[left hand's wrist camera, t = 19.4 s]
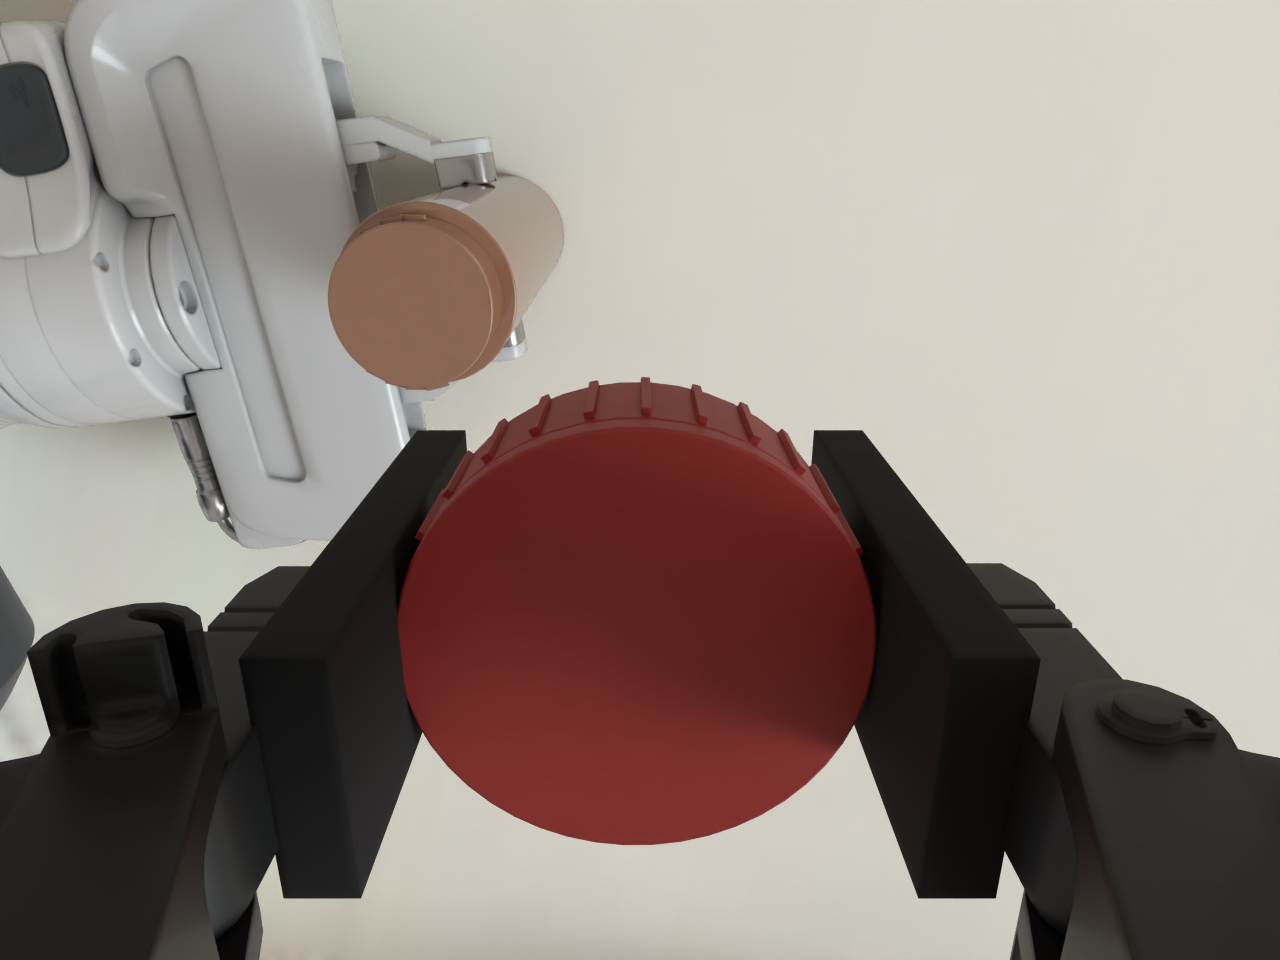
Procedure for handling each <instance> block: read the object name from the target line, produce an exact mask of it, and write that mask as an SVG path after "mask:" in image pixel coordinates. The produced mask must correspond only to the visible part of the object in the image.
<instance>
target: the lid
mask: <svg viewBox="0 0 1280 960" xmlns="http://www.w3.org/2000/svg"><path fill="white" fill-rule="evenodd" d="M415 538H416V539H418V540H420V541H421V542H420V544H419V546H418V548H417V550H416V552H415V554H414V556H413V558H412V560H411V561H410V564H409V567H408V570H407V573H406V576H405V579H404V582H403V584H402V587H401V592H400V597H399V603H398V608H397V619H398V629H399V638H400V647H401V656H402V665H403V674H404V683H405V690H406V698H407V701H408V703H409V706H410V708H411V710H412V713H413V715H414V717H415V719H416V722H417V724H418V725H419V727H420V729H421V730H422V732H423V733H424V735H425V737H426V738H427V740H428V742H429V743H430V745H431V746H432V748H433V749H434V750H435V751H436V752H437V754H438V755H439V756H440V757H441V759H442V760H443V761H444V762H445V764H446V765H447V766H448V767H449V768H450V769H451V770H452V771H453V772H454V773H455V774H456V775H457V776H458V777H459V778H460V779H461V780H462V781H463V782H465V783H466V784H467V785H468V786H469V787H470V788H472V789H473V790H474V791H476V792H477V793H478V794H480V795H481V796H482V797H484V798H485V799H486V800H488V801H489V802H490V803H492V804H494V805H495V806H497V807H499V808H501V809H502V810H504V811H506V812H507V813H509V814H511V815H513V816H514V817H517V818H519V819H521V820H523V821H526V822H528V823H530V824H532V825H535V826H537V827H539V828H542V829H545V830H548V831H551V832H555V833H558V834H561V835H564V836H567V837H572V838H577V839H582V840H587V841H592V842H598V843H609V844H619V845H655V844H664V843H673V842H681V841H686V840H691V839H695V838H700V837H705V836H709V835H712V834H715V833H718V832H721V831H724V830H727V829H730V828H733V827H736V826H738V825H740V824H742V823H745V822H747V821H749V820H751V819H753V818H756V817H758V816H760V815H762V814H764V813H765V812H767V811H769V810H770V809H772V808H774V807H775V806H777V805H779V804H780V803H782V802H784V801H785V800H786V799H788V798H789V797H790V796H792V795H793V794H794V793H796V792H797V791H798V790H799V789H801V788H802V787H803V786H805V785H806V784H807V783H808V782H809V781H810V780H811V779H812V778H813V777H814V776H815V775H816V774H817V773H818V772H819V771H820V770H821V769H822V768H823V767H824V766H825V765H826V764H827V763H828V762H829V760H830V759H831V758H832V757H833V755H834V754H835V753H836V752H837V750H838V749H839V748H840V746H841V745H842V744H843V742H844V741H845V739H846V737H847V736H848V734H849V732H850V731H851V729H852V727H853V725H854V724H855V722H856V720H857V718H858V716H859V713H860V711H861V708H862V706H863V704H864V701H865V699H866V696H867V694H868V690H869V686H870V682H871V678H872V674H873V670H874V664H875V655H876V645H877V631H876V612H875V607H874V602H873V598H872V593H871V588H870V584H869V581H868V579H867V576H866V573H865V570H864V568H863V565H862V562H861V560H860V557H859V556H861V555H863V554H864V553H863V551H862V548H861V546H860V544H859V542H858V540H857V539H856V537H855V535H854V533H853V531H852V530H851V528H850V526H849V524H848V522H847V521H846V519H845V517H844V515H843V513H842V512H841V508H840V507H839V505H838V503H837V501H836V499H835V498H834V496H833V494H832V492H831V490H830V489H829V487H828V485H827V483H826V481H825V480H824V478H823V476H822V474H821V472H820V471H819V469H818V467H817V466H816V465H815V464H813V465H811V466H810V467H809V466H808V465H807V463H806V462H805V461H804V459H803V458H802V457H801V455H800V454H799V453H798V452H797V451H796V449H795V447H794V445H793V443H792V441H791V439H790V437H789V435H788V434H787V433H786V432H785V431H784V430H783V429H781V430H780V431H779V432H776V431H775V430H774V429H772V428H771V427H770V426H768V425H767V424H766V423H764V422H763V421H762V420H760V419H759V418H758V417H756V416H754V415H752V414H751V412H750V410H749V408H748V405H746V404H744V403H742V402H740V403H739V405H738V406H736V405H734V404H732V403H730V402H727V401H725V400H722V399H720V398H717V397H715V396H712V395H710V394H707V393H704V392H702V389H701V386H698V385H695V384H693V385H692V388H691V389H688V388H684V387H680V386H674V385H666V384H658V383H650V378H647V377H642V378H641V383H614V384H607V385H599V382H598V381H592V382H590V383H589V387H588V388H584V389H580V390H577V391H573V392H569V393H566V394H562V395H560V396H558V397H555V398H553V399H551V398H550V396H549V394H548V395H545V396H543V397H541V399H540V401H539V404H538V405H536V406H534V407H533V408H531V409H529V410H528V411H526V412H524V413H522V414H521V415H519V416H517V417H515V418H514V419H512V420H511V421H510V422H508V421H507V420H506V419H505V418H504V419H503V420H501V421H500V422H499V423H498V424H497V426H496V428H495V430H494V432H493V434H492V436H490V437H489V439H488V440H487V441H486V442H485V443H484V444H483V445H482V446H481V447H480V448H479V449H478V450H477V451H476V452H475V453H474V454H473V453H472V452H470V451H468V452H467V453H466V454H465V455H464V457H463V458H462V460H461V462H460V464H459V465H458V467H457V469H456V471H455V473H454V474H453V476H452V478H451V480H450V481H449V483H448V485H447V487H446V488H445V489H442V491H441V492H440V494H439V496H438V497H437V499H436V501H435V503H434V504H433V506H432V508H431V510H430V511H429V513H428V515H427V517H426V518H425V520H424V522H423V524H422V525H421V527H420V529H419V531H418V533H417V535H416V537H415Z"/></svg>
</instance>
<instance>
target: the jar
mask: <svg viewBox="0 0 1280 960" xmlns="http://www.w3.org/2000/svg"><path fill="white" fill-rule="evenodd" d="M497 180H498V181H495V182H490V183H484V184H470V183H469V184H465V185H462V186H457V187H454V188H450V189H447V190H443V191H440V192H436V193H433V194H429V195H426V196H422V197H419V198H415V199H411V200H408V201H404V202H401V203H397V204H394V205H391V206H388V207H385V208H383V209H381V210H379V211H377V212H375V213H374V214H372V215H371V216H369V217H368V218H366V219H365V220H364V221H363V222H362V223H361V224H360V225H359V226H358V227H356V229H355V230H354V231H353V233H352V234H351V235H350V236H349V238H348V240H347V241H346V243H345V245H344V247H343V249H342V251H341V254H340V256H339V258H338V259H337V261H336V263H335V265H334V268H333V270H332V273H331V276H330V280H329V286H328V308H329V314H330V318H331V322H332V325H333V328H334V330H335V332H336V335H337V337H338V339H339V340H340V342H341V344H342V345H343V347H344V348H345V350H346V351H347V352H348V354H349V355H350V356H351V357H352V358H353V359H354V360H355V361H356V362H357V363H358V364H359V365H360V366H362V367H363V368H364V369H365V370H366V372H368V373H370V374H372V375H373V376H375V377H377V378H379V379H381V380H383V381H385V383H386V384H390V385H394V386H398V387H402V388H406V390H427V391H431V390H434V389H438V388H442V387H446V386H449V385H450V383H449V382H455V381H458V380H461V379H465V378H467V377H469V376H471V375H473V374H475V373H477V372H478V371H480V370H482V369H483V368H485V367H486V366H487V365H488V364H489V363H490V362H492V361H493V360H494V358H495V357H496V356H497V355H498V354H499V353H500V351H501V350H502V348H503V347H504V345H505V344H506V342H507V341H508V339H509V338H510V336H511V335H512V333H513V331H514V330H515V328H516V327H517V325H518V324H519V322H520V320H521V319H522V317H523V316H524V314H525V313H526V311H527V310H528V308H529V306H530V305H531V303H532V302H533V300H534V299H535V297H536V295H537V294H538V292H539V291H540V289H541V288H542V286H543V284H544V283H545V281H546V280H547V278H548V277H549V275H550V273H551V272H552V270H553V269H554V267H555V266H556V264H557V262H558V260H559V258H560V255H561V252H562V248H563V242H564V229H563V223H562V219H561V216H560V213H559V211H558V209H557V207H556V205H555V204H554V202H553V200H552V199H551V198H550V197H549V195H548V194H547V193H546V192H545V191H544V190H543V189H541V188H540V187H539V186H537V185H536V184H534V183H533V182H531V181H529V180H526V179H524V178H521V177H517V176H510V175H499V176H497Z"/></svg>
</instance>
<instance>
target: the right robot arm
mask: <svg viewBox="0 0 1280 960" xmlns="http://www.w3.org/2000/svg"><path fill="white" fill-rule="evenodd" d="M395 148H396V149H398V150H400V151H403V152H405V153H408V154H410V155H413V156H415V157H417V158H420V159H422V160H425V161H427V162H429V163H432V164H435V166H436V171H437V176H438V180H439V185H440V189H446V188H454V187H457V186H462V185H465V184H469V183H470V184H484V183H490V182H495V181H498V180H497V174H496V168H495V161H494V155H493V148H492V143H491V138H490V137H481V138H471V139H464V140H456V141H449V142H441V140H440V139H438V138H436V137H434V136H431V135H429V134H427V133H424V132H422V131H420V130H417V129H415V128H413V127H411V126H408V125H406V124H404V123H401V122H399V121H397V120H395V119H392V118H390V117H384V116H366V117H358V115H357V110H356V106H355V102H354V97H353V93H352V88H351V84H350V79H349V75H348V70H347V66H346V62H345V57H344V53H343V48H342V44H341V40H340V35H339V31H338V26H337V22H336V17H335V13H334V8H333V4H332V0H76V1H75V2H74V4H73V6H72V7H71V9H70V11H69V13H68V16H67V20H66V22H60V21H44V20H30V21H10V22H2V23H0V430H1V429H3V428H5V427H7V426H10V425H14V424H32V425H37V426H43V427H50V428H75V427H82V426H90V425H99V424H107V423H115V422H123V421H131V420H139V419H149V418H156V417H164V416H167V417H170V419H171V422H172V425H173V428H174V431H175V434H176V437H177V440H178V443H179V446H180V449H181V451H182V454H183V456H184V459H185V461H186V463H187V465H188V466H189V467H190V468H189V469H190V471H191V473H193V474H192V475H193V478H194V481H195V484H196V487H197V490H196V494H197V499H198V502H199V505H200V507H201V510H202V511H203V513H204V515H205V517H206V518H207V520H208V521H211V522H217V523H218V524H219V526H220V527H221V529H222V530H223V531H224V532H225V533H226V534H227V535H228V536H229V537H231V538H232V539H233V540H235V541H237V542H239V543H240V545H242V546H243V547H246V548H251V549H265V548H274V547H283V546H291V545H295V544H298V543H302V542H304V541H306V540H318V541H331V540H332V539H333V537H334V536H335V535H336V534H337V532H338V531H339V530H340V528H341V527H342V526H343V525H344V523H345V522H346V521H347V519H348V518H349V517H350V516H351V514H352V513H353V512H354V511H355V509H356V508H357V507H358V505H359V504H360V503H361V502H362V500H363V499H364V498H365V496H366V495H367V494H368V493H369V491H370V490H371V489H372V488H373V486H374V485H375V484H376V482H377V481H378V480H379V479H380V477H381V476H382V475H383V473H384V472H385V471H386V470H387V468H388V467H389V466H390V465H391V463H392V462H393V461H394V459H395V458H396V457H397V456H398V454H399V453H400V452H401V450H402V449H403V448H404V447H405V445H406V444H407V443H408V441H409V440H410V439H411V438H412V436H413V435H414V434H415V433H416V431H417V430H428V426H427V422H426V417H425V413H424V408H423V404H422V401H430V400H435V399H436V398H437V397H439V396H440V395H441V394H442V393H444V392H445V391H446V390H447V389H449V388H450V387H451V386H453V385H454V384H455V383H456V382H458V381H459V380H458V381H455V382H449V383H450V385H449V386H446V387H442V388H438V389H434V390H431V391H427V390H406V388H402V387H398V386H394V385H390V384H386V383H385V381H383V380H381V379H379V378H377V377H375V376H373V375H372V374H370V373H368V372H366V370H365V369H364V368H363V367H362V366H360V365H359V364H358V363H357V362H356V361H355V360H354V359H353V358H352V357H351V356H350V355H349V354H348V352H347V351H346V350H345V348H344V347H343V345H342V344H341V342H340V340H339V339H338V337H337V335H336V332H335V330H334V328H333V325H332V322H331V318H330V314H329V308H328V286H329V280H330V276H331V273H332V270H333V268H334V265H335V263H336V261H337V259H338V258H339V256H340V254H341V251H342V249H343V247H344V245H345V243H346V241H347V240H348V238H349V236H350V235H351V234H352V233H353V231H354V230H355V229H356V227H358V226H359V225H360V224H361V223H362V222H363V221H364V220H365V219H366V218H368V217H369V216H371V215H372V214H374V213H375V212H377V211H379V208H378V204H377V199H376V195H375V190H374V186H373V182H372V177H371V173H370V168H369V164H368V163H369V162H376V161H382V160H389V159H394V158H395V156H396V152H395ZM490 152H491V153H490ZM527 350H528V349H527V344H526V338H525V332H524V327H523V322H522V319H521V320H520V322H519V324H518V325H517V327H516V328H515V330H514V331H513V333H512V335H511V336H510V338H509V339H508V341H507V342H506V344H505V345H504V347H503V348H502V350H501V351H500V353H499V354H498V355H497V356H496V357H495V358H494V360H493V361H492V362H499V361H507V360H514V359H517V358H521V357H523V356H525V354H526V352H527ZM490 363H491V362H490ZM229 517H230V518H231V521H232V524H233V525H232V524H231V523H230V521H229V520H228V518H229ZM34 631H35V630H34V624H33V621H32V619H31V617H30V615H29V614H28V612H27V610H26V609H25V607H24V605H23V604H22V602H21V600H20V599H19V597H18V595H17V594H16V592H15V590H14V588H13V587H12V585H11V583H10V582H9V580H8V578H7V576H6V575H5V573H4V571H3V570H2V568H1V566H0V711H1V709H2V707H3V706H4V704H5V703H6V701H7V699H8V697H9V695H10V694H11V692H12V690H13V688H14V686H15V684H16V682H17V679H18V677H19V675H20V673H21V671H22V669H23V666H24V664H25V662H26V659H27V656H28V655H27V651H28V650H29V649H30V648H31V646H32V643H33V639H34Z"/></svg>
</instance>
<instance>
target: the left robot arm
mask: <svg viewBox="0 0 1280 960" xmlns="http://www.w3.org/2000/svg"><path fill="white" fill-rule="evenodd" d="M466 453H467V446H466V433H465V430H417V431H416V433H415V434H414V435H413V436H412V438H411V439H410V440H409V441H408V443H407V444H406V445H405V447H404V448H403V449H402V450H401V452H400V453H399V454H398V456H397V457H396V458H395V459H394V461H393V462H392V463H391V465H390V466H389V467H388V468H387V470H386V471H385V472H384V473H383V475H382V476H381V477H380V479H379V480H378V481H377V482H376V484H375V485H374V486H373V488H372V489H371V490H370V491H369V493H368V494H367V495H366V496H365V498H364V499H363V500H362V502H361V503H360V504H359V505H358V507H357V508H356V509H355V511H354V512H353V513H352V514H351V516H350V517H349V518H348V519H347V521H346V522H345V523H344V525H343V526H342V527H341V528H340V530H339V531H338V532H337V534H336V535H335V536H334V537H333V539H332V540H331V541H330V542H329V544H328V545H327V546H326V548H325V549H324V550H323V551H322V553H321V554H320V555H319V557H318V558H317V559H316V560H315V562H314V563H313V564H312V566H278V567H277V568H275V569H273V570H271V571H270V572H268V573H266V574H264V575H263V576H261V577H259V578H257V579H256V580H254V581H252V582H250V583H248V584H247V585H245V586H244V587H243V588H242V589H241V590H240V592H239V593H238V594H237V595H236V596H235V597H234V598H233V599H232V600H231V602H230V603H229V604H228V605H227V606H226V607H225V612H221V613H220V614H219V615H218V616H217V617H216V618H215V619H214V620H213V622H212V623H211V624H210V625H209V626H208V632H203V627H202V622H201V618H200V615H198V614H197V613H195V612H194V611H193V610H191V609H190V608H188V607H186V606H181V605H176V604H170V603H165V602H162V603H136V604H130V605H125V606H120V607H115V608H110V609H105V610H101V611H98V612H95V613H92V614H89V615H86V616H84V617H81V618H78V619H75V620H72V621H70V622H68V623H66V624H64V625H62V626H61V627H59V628H57V629H55V630H53V631H51V632H50V633H48V634H46V635H44V636H43V637H42V638H41V639H40V640H39V641H38V642H37V643H35V644H34V645H33V646H32V647H31V648H30V649H29V650H28V651H27V655H28V659H29V662H30V666H31V669H32V673H33V676H34V679H35V683H36V686H37V690H38V693H39V697H40V700H41V704H42V707H43V711H44V714H45V718H46V721H47V725H48V728H49V731H50V737H49V739H48V741H47V743H46V744H45V746H44V748H43V750H42V752H41V754H37V755H33V756H29V757H24V758H19V759H14V760H9V761H4V762H0V960H259V956H260V949H261V942H262V935H263V927H262V920H261V912H260V907H259V903H258V898H257V893H256V891H257V889H258V887H259V885H260V883H261V881H262V879H263V877H264V875H265V873H266V871H267V869H268V867H269V865H270V863H271V861H272V859H273V857H274V856H275V855H276V860H277V866H278V871H279V876H280V881H281V887H282V892H283V897H284V898H361V897H362V894H363V891H364V889H365V886H366V883H367V881H368V878H369V875H370V872H371V870H372V867H373V864H374V862H375V859H376V856H377V854H378V851H379V848H380V845H381V843H382V840H383V837H384V835H385V832H386V829H387V827H388V824H389V821H390V818H391V816H392V813H393V810H394V808H395V805H396V802H397V800H398V797H399V794H400V791H401V789H402V786H403V783H404V781H405V778H406V775H407V772H408V770H409V767H410V764H411V762H412V759H413V756H414V754H415V751H416V748H417V745H418V743H419V740H420V737H421V735H422V730H421V729H420V727H419V725H418V724H417V722H416V719H415V717H414V715H413V713H412V710H411V708H410V706H409V703H408V701H407V698H406V690H405V683H404V674H403V665H402V656H401V647H400V638H399V629H398V619H397V608H398V603H399V597H400V592H401V587H402V584H403V582H404V579H405V576H406V573H407V570H408V567H409V564H410V561H411V560H412V558H413V556H414V554H415V552H416V550H417V548H418V546H419V544H420V542H421V541H420V540H418V539H416V538H415V537H416V535H417V533H418V531H419V529H420V527H421V525H422V524H423V522H424V520H425V518H426V517H427V515H428V513H429V511H430V510H431V508H432V506H433V504H434V503H435V501H436V499H437V497H438V496H439V494H440V492H441V491H442V489H445V488H446V487H447V485H448V483H449V481H450V480H451V478H452V476H453V474H454V473H455V471H456V469H457V467H458V465H459V464H460V462H461V460H462V458H463V457H464V455H465V454H466ZM813 464H815V465H816V466H817V467H818V469H819V471H820V472H821V474H822V476H823V478H824V480H825V481H826V483H827V485H828V487H829V489H830V490H831V492H832V494H833V496H834V498H835V499H836V501H837V503H838V505H839V507H840V508H841V512H842V513H843V515H844V517H845V519H846V521H847V522H848V524H849V526H850V528H851V530H852V531H853V533H854V535H855V537H856V539H857V540H858V542H859V544H860V546H861V548H862V551H863V553H864V554H863V555H861V556H859V557H860V560H861V562H862V565H863V568H864V570H865V573H866V576H867V579H868V581H869V584H870V588H871V593H872V598H873V602H874V607H875V612H876V631H877V645H876V655H875V664H874V670H873V674H872V678H871V682H870V686H869V690H868V694H867V696H866V699H865V701H864V704H863V706H862V708H861V711H860V713H859V716H858V718H857V720H856V722H855V724H854V725H855V728H856V731H857V734H858V736H859V739H860V742H861V744H862V747H863V750H864V752H865V755H866V758H867V761H868V763H869V766H870V769H871V771H872V774H873V777H874V779H875V782H876V785H877V788H878V790H879V793H880V796H881V798H882V801H883V804H884V806H885V809H886V812H887V815H888V817H889V820H890V823H891V825H892V828H893V831H894V833H895V836H896V839H897V842H898V844H899V847H900V850H901V852H902V855H903V858H904V860H905V863H906V866H907V869H908V871H909V874H910V877H911V879H912V882H913V885H914V888H915V890H916V893H917V896H918V898H996V894H997V889H998V884H999V878H1000V873H1001V868H1002V862H1003V857H1004V852H1006V854H1007V856H1008V858H1009V860H1010V862H1011V864H1012V866H1013V868H1014V870H1015V871H1016V873H1017V875H1018V877H1019V879H1020V881H1021V883H1022V885H1023V887H1024V893H1023V898H1022V903H1021V907H1020V912H1019V917H1018V922H1017V927H1016V932H1015V937H1014V942H1013V947H1012V952H1011V957H1010V960H1280V758H1277V757H1272V756H1267V755H1261V754H1256V753H1251V752H1247V751H1243V750H1239V749H1238V748H1237V746H1236V745H1235V743H1234V741H1233V739H1232V737H1231V735H1230V734H1229V733H1228V732H1227V730H1226V729H1225V728H1224V727H1223V726H1222V725H1221V724H1220V722H1219V721H1218V720H1217V719H1216V718H1215V717H1214V716H1213V715H1212V714H1210V713H1209V712H1207V711H1206V710H1204V709H1203V708H1201V707H1199V706H1198V705H1196V704H1195V703H1193V702H1192V701H1190V700H1189V699H1186V698H1184V697H1181V696H1179V695H1177V694H1174V693H1172V692H1169V691H1167V690H1164V689H1162V688H1160V687H1156V686H1152V685H1147V684H1143V683H1139V682H1134V681H1130V680H1123V679H1122V678H1121V677H1120V676H1119V675H1118V674H1117V672H1116V671H1115V670H1114V669H1113V668H1112V667H1111V666H1110V665H1109V664H1108V662H1107V661H1106V660H1105V659H1104V658H1103V657H1102V656H1101V655H1100V654H1099V653H1098V651H1097V650H1096V649H1095V648H1094V647H1093V646H1092V645H1091V644H1090V643H1089V642H1088V640H1087V639H1086V638H1085V637H1084V636H1083V635H1082V634H1081V633H1080V632H1079V630H1078V629H1077V628H1072V623H1071V622H1070V621H1069V619H1068V618H1067V617H1066V616H1065V615H1064V614H1063V613H1062V612H1061V611H1060V609H1055V604H1054V603H1053V602H1052V601H1051V600H1050V598H1049V597H1048V596H1047V595H1046V594H1045V593H1044V592H1043V591H1042V590H1041V588H1040V587H1039V586H1038V585H1037V584H1036V583H1035V582H1033V581H1032V580H1030V579H1028V578H1026V577H1024V576H1023V575H1021V574H1019V573H1017V572H1016V571H1014V570H1012V569H1010V568H1009V567H1007V566H1005V565H1003V564H1002V563H966V562H965V561H964V560H963V559H962V557H961V556H960V555H959V554H958V552H957V551H956V550H955V548H954V547H953V546H952V545H951V543H950V542H949V541H948V539H947V538H946V537H945V536H944V534H943V533H942V532H941V530H940V529H939V528H938V527H937V525H936V524H935V523H934V522H933V520H932V519H931V518H930V516H929V515H928V514H927V513H926V511H925V510H924V509H923V507H922V506H921V505H920V504H919V502H918V501H917V500H916V499H915V497H914V496H913V495H912V493H911V492H910V491H909V490H908V488H907V487H906V486H905V484H904V483H903V482H902V481H901V479H900V478H899V477H898V475H897V474H896V473H895V472H894V470H893V469H892V468H891V467H890V465H889V464H888V463H887V461H886V460H885V459H884V458H883V456H882V455H881V454H880V452H879V451H878V450H877V449H876V447H875V446H874V445H873V444H872V442H871V441H870V440H869V438H868V437H867V436H866V435H865V433H864V432H863V431H862V430H814V438H813V452H812V465H813Z"/></svg>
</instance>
